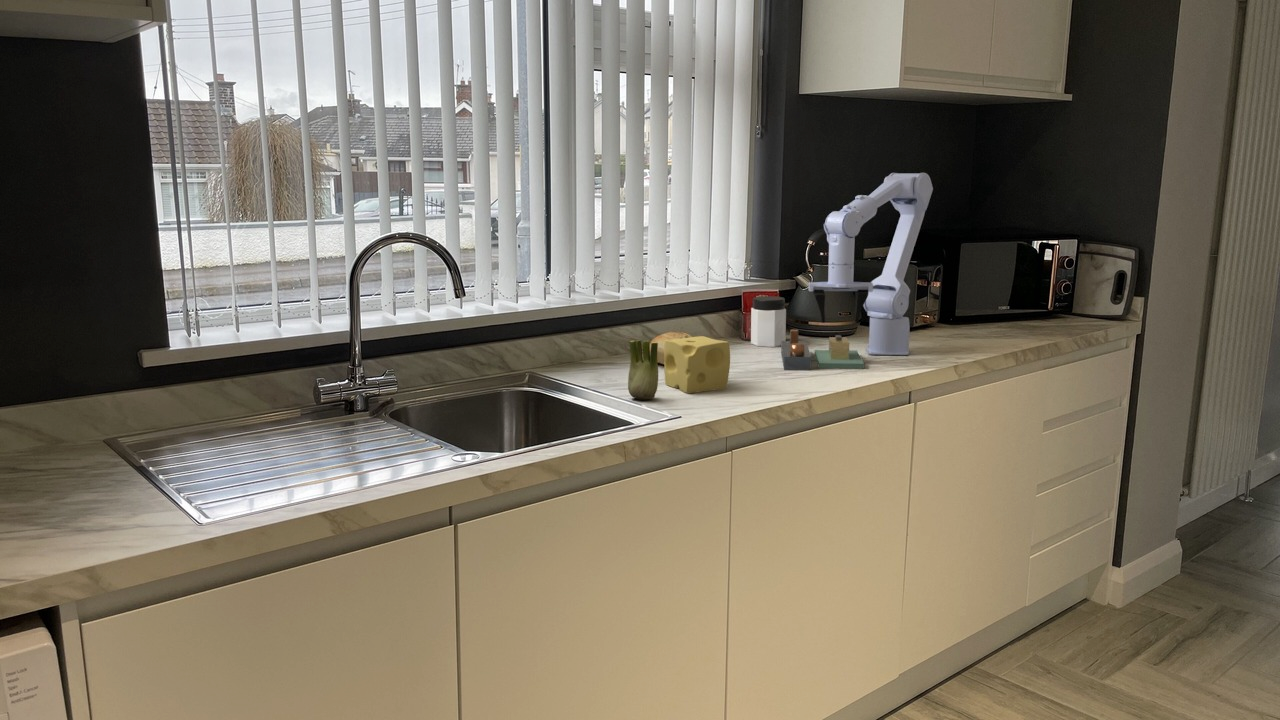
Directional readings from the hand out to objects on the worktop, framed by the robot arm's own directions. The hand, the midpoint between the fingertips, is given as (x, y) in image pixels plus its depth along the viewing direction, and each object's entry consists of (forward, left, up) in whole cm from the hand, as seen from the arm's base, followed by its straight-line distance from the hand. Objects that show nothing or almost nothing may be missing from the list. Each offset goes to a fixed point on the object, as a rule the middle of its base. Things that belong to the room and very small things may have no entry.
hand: (839, 322), depth 227 cm
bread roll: (+38, +7, -10) cm, 40 cm away
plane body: (+10, 0, -9) cm, 14 cm away
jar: (+16, -22, -10) cm, 29 cm away
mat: (0, 0, -9) cm, 9 cm away
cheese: (+32, +28, -10) cm, 44 cm away
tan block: (0, 0, -8) cm, 8 cm away
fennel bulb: (+42, +40, -10) cm, 59 cm away
